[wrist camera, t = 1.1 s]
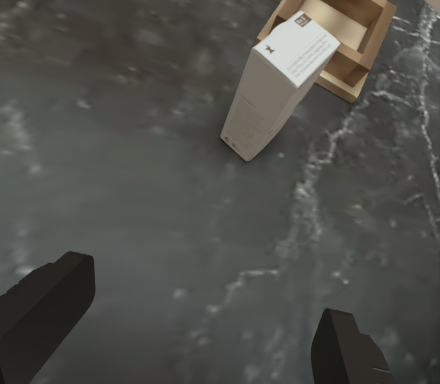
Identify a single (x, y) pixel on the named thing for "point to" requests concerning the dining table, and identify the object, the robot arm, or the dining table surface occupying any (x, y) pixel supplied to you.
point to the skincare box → (276, 82)
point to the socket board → (342, 37)
